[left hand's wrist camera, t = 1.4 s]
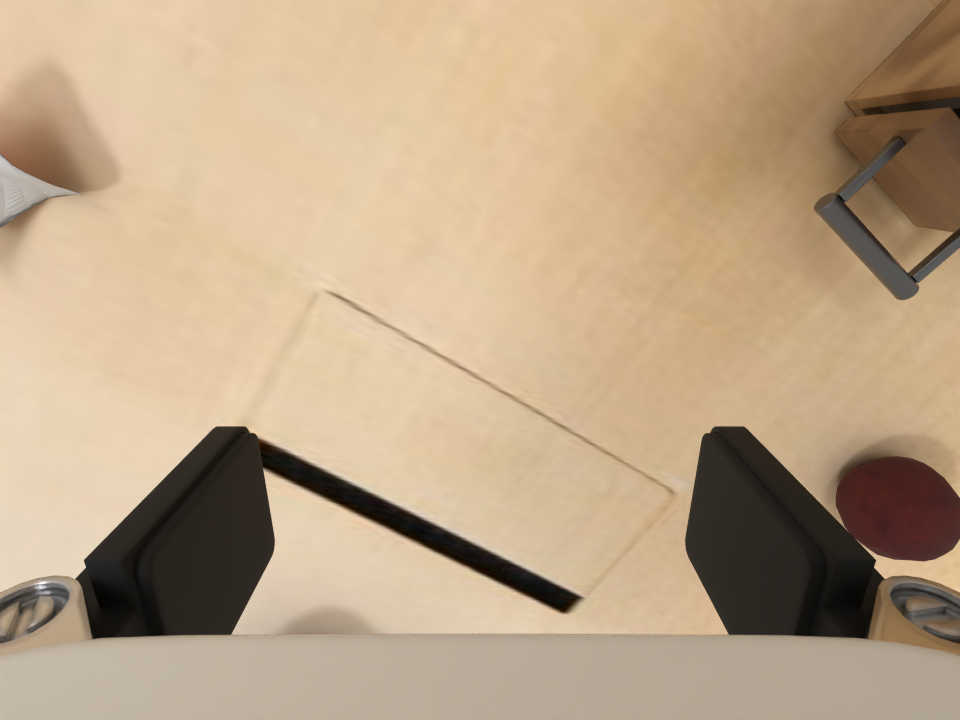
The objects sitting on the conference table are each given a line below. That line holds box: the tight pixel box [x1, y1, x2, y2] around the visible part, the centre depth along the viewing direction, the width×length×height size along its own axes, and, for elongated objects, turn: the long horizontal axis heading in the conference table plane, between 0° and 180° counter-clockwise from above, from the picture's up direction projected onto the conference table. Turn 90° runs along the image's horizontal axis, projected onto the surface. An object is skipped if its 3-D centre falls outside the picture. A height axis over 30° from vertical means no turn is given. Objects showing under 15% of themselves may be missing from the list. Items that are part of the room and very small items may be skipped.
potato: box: [836, 457, 960, 561], centre depth 39 cm, size 7×8×7 cm
